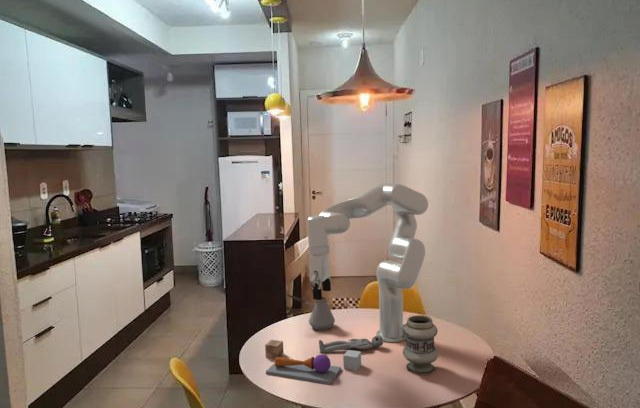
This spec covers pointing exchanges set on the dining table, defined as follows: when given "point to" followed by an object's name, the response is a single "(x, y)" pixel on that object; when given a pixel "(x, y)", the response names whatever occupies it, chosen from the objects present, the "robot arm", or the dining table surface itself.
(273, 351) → the walnut block
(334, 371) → the charcoal mat
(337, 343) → the alien figure
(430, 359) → the apothecary jar
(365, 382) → the dining table surface
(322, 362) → the kendama
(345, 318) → the dining table surface
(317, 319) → the coffee pot
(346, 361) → the grey block
